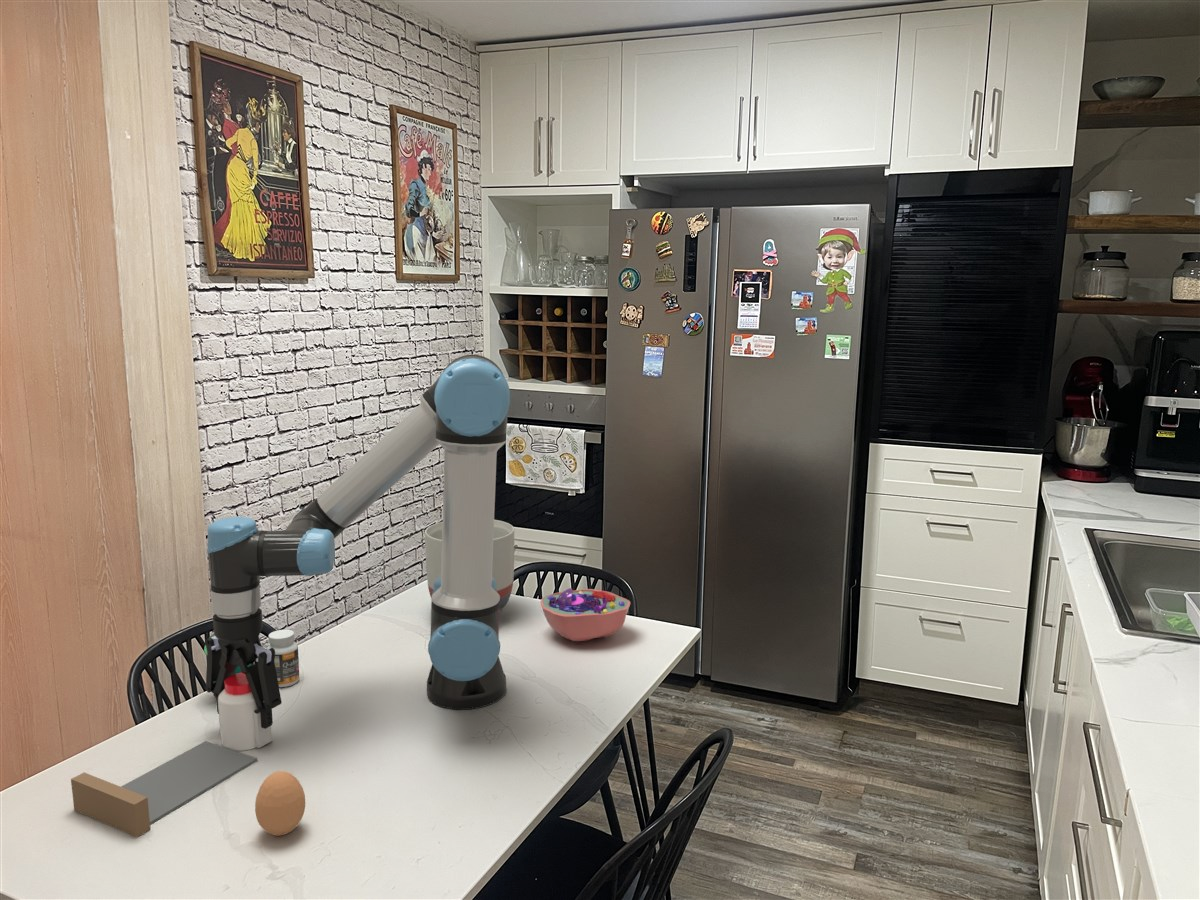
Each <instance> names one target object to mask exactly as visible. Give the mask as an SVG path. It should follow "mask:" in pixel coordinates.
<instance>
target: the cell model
mask: <svg viewBox="0 0 1200 900" xmlns="http://www.w3.org/2000/svg"><path fill="white" fill-rule="evenodd" d="M630 605H631V601H630V600H629V599H627V598H625V597H622V596H619V595H617V594H615V593H614V592H611V591H606V590H599V589H594V588H583V589H575V590H573V588H572V587H569V588H567V589H564V590H563V591H560V592H555V593H551V594H548V595H545V596H543V597H542V598H541V599H540V607H541V609H542V610H541V611H542V613H543V615H544V617H545V619H546V622H547V624H548V625H549V626H550V627H551V628H552V630H553V631H554V632H555V634H558V635H559V636H562V637H563V638H565V639H567V640H568V641H572V642H585V641H591V640H594V639H597V638H602V639H603V638H604V639H605V638H608V637H610V636H612V635H613V634H615V633H617V632H619V630H620V629H621V628H623V625H624V624H625V621H626V617H627V615H628V611H629V609H630Z"/></svg>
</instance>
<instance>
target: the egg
mask: <svg viewBox="0 0 1200 900" xmlns="http://www.w3.org/2000/svg"><path fill="white" fill-rule="evenodd" d="M254 803H255V805H254V806H255V807H254V813H255V817H256V820H257V823H258V825H259V826H260V827H261V828H262V830H264V831H265V832H266V833H268V834H270V835H273V836H276V837H277V836H285V835H286V834H289V833H291V832H292V831H293V830H294V829H296V827H297V826H298V825H299V824H300V822H301V820H302V819H303V816H304V813H305V809H306V795H305V791H304V788H303V785H302V784H301V782H300V781H299V780H298V778H297V777H296V776H295V775H293V774H292V773H291V772H288V771H285V770H279V771H278V770H277V771H275V772H272V773H271V774H269V775H268V776H267V777H266V778H265V779H264V780H263V782H262V784H261V785H260V787H259V788H258V792H257V794H256V796H255V802H254Z"/></svg>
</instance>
